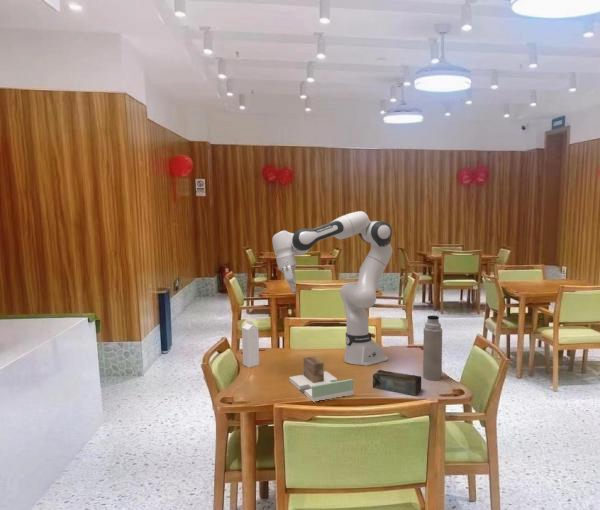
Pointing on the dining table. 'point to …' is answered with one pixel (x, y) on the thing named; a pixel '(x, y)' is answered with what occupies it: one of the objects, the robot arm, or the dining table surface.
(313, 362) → the walnut block
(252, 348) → the milk
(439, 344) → the thermos bottle
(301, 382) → the grey tray
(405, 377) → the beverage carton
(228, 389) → the dining table surface
